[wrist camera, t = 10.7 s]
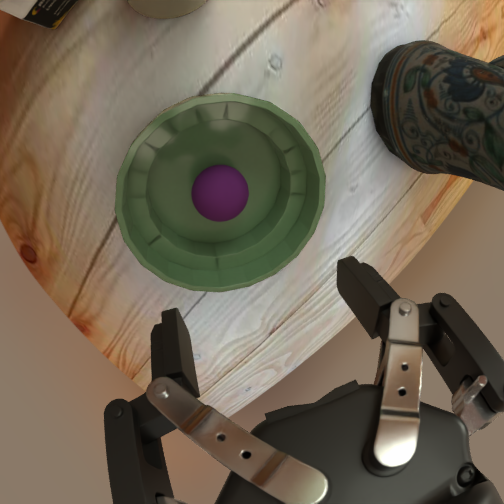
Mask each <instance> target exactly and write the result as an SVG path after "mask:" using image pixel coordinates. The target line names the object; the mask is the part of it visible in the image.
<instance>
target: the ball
mask: <svg viewBox="0 0 504 504" xmlns="http://www.w3.org/2000/svg"><path fill="white" fill-rule="evenodd" d="M191 197H192V202H193V204H194V207H195V208H196V210H197V211H198V212H199V213H200V214H201V215H202V216H203V217H205V218H206V219H209V220H211V221H216V222H224V221H228V220H231V219H233V218H235V217H237V216H238V215H239V214H240V213H241V212H242V211H243V210H244V208H245V206H246V204H247V201H248V197H249V189H248V184H247V182H246V180H245V178H244V176H243V175H242V174H241V173H240V172H239V171H238V170H236V169H235V168H233V167H230V166H227V165H214V166H210V167H208V168H206V169H204V170H203V171H202V172H201V173H200V174H199V175H198V176H197V177H196V179H195V181H194V183H193V185H192V191H191Z"/></svg>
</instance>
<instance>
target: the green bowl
mask: <svg viewBox="0 0 504 504" xmlns="http://www.w3.org/2000/svg"><path fill="white" fill-rule="evenodd" d="M214 165H227V166H230V167H233V168H235V169H236V170H238V171H239V172H240V173H241V174H242V175H243V176H244V178H245V180H246V182H247V184H248V189H249V197H248V201H247V204H246V206H245V208H244V210H243V211H242V212H241V213H240V214H239V215H238V216H237V217H235V218H233V219H231V220H228V221H224V222H216V221H211V220H209V219H206V218H205V217H203V216H202V215H201V214H200V213H199V212H198V211H197V210H196V208H195V207H194V204H193V202H192V197H191V191H192V185H193V183H194V181H195V179H196V177H197V176H198V175H199V174H200V173H201V172H202V171H203V170H204V169H206V168H208V167H210V166H214ZM325 183H326V175H325V172H324V168H323V164H322V161H321V157H320V154H319V150H318V148H317V146H316V144H315V143H314V142H313V140H312V139H311V137H310V136H309V135H308V133H307V132H306V130H305V129H304V128H303V126H302V125H301V124H300V122H298V120H296V119H295V118H293V117H292V116H290V115H289V114H287V113H286V112H284V111H283V110H281V109H280V108H278V107H277V106H275V105H274V104H272V103H270V102H268V101H264V100H260V99H256V98H252V97H248V96H244V95H239V94H234V93H214V94H206V95H198V96H192V97H189V98H187V99H185V100H183V101H180V102H178V103H176V104H174V105H172V106H170V107H168V108H166V109H164V110H163V111H162V112H161V113H159V114H158V115H157V116H156V117H155V118H154V119H153V120H152V121H151V122H150V123H149V124H148V125H147V126H146V127H145V128H144V130H143V131H142V132H141V133H140V134H139V135H138V136H137V138H136V139H135V140H134V141H133V143H132V144H131V146H130V148H129V151H128V153H127V155H126V157H125V159H124V161H123V164H122V166H121V168H120V171H119V173H118V175H117V183H116V197H115V213H116V217H117V220H118V223H119V227H120V230H121V234H122V237H123V240H124V242H125V243H126V244H127V246H128V247H129V249H130V250H131V251H132V253H133V254H134V256H135V257H136V258H137V260H138V261H139V262H140V264H142V266H144V267H145V268H147V269H148V270H149V271H151V272H152V273H154V274H155V275H156V276H158V277H159V278H161V279H162V280H163V281H165V282H168V283H171V284H174V285H177V286H180V287H183V288H186V289H189V290H193V291H206V292H225V291H230V290H235V289H240V288H245V287H249V286H252V285H254V284H256V283H258V282H260V281H262V280H264V279H266V278H268V277H271V276H273V275H275V274H276V273H277V272H279V271H280V270H281V269H282V268H283V267H285V266H286V265H287V264H288V263H290V262H291V261H292V260H293V259H294V258H296V257H297V256H298V255H299V253H300V252H301V250H302V249H303V248H304V246H305V245H306V244H307V242H308V241H309V239H310V238H311V237H312V235H313V234H314V232H315V230H316V227H317V224H318V222H319V219H320V216H321V213H322V211H323V208H324V202H325Z"/></svg>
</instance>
